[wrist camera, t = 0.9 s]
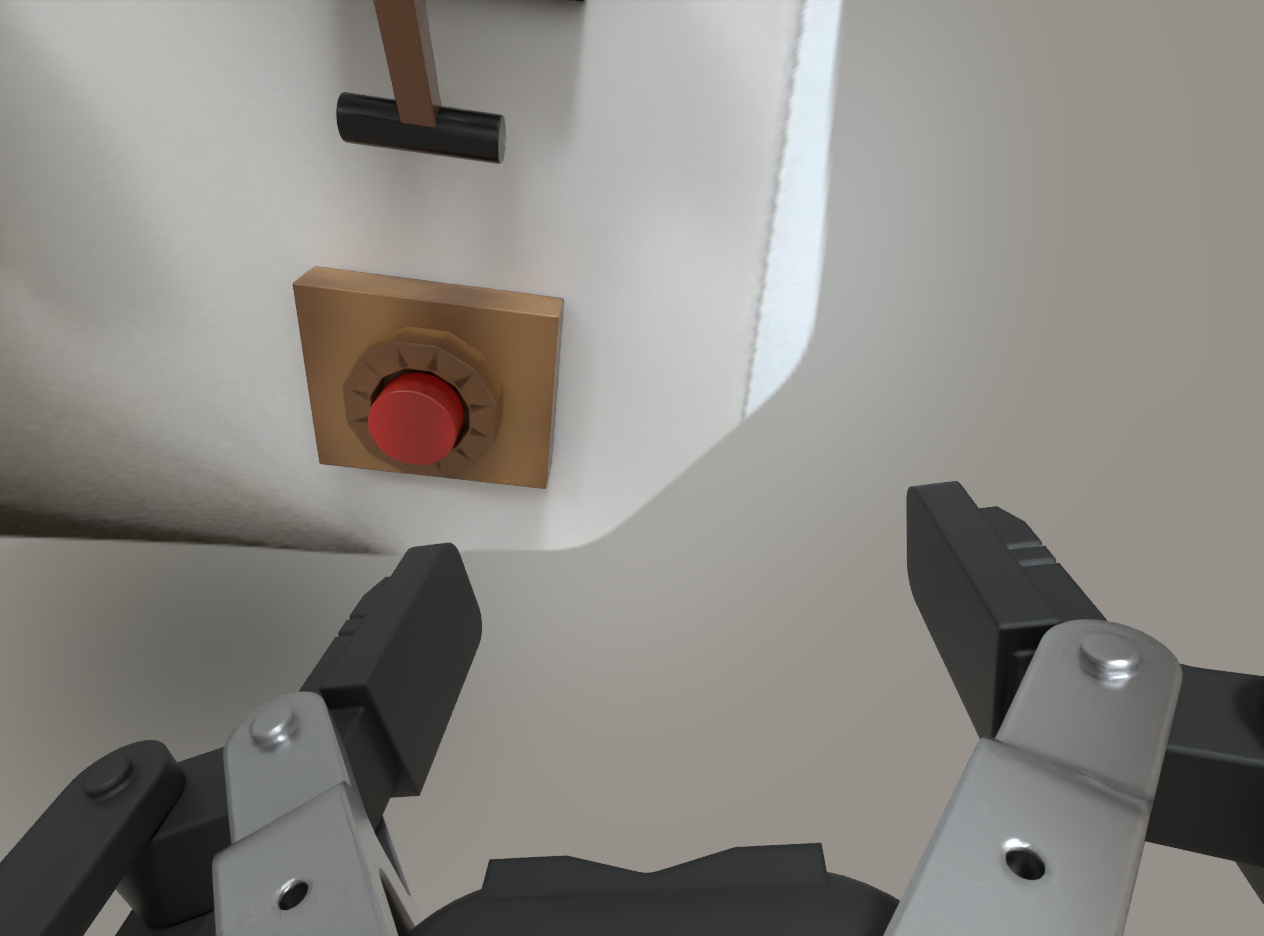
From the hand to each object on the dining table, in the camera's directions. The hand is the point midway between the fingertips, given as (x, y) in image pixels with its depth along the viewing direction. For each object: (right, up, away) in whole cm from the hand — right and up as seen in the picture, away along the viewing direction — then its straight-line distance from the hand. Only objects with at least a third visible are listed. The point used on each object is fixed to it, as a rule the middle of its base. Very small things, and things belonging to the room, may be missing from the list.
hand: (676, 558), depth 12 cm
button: (-10, +4, +17) cm, 21 cm away
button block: (-10, +6, +21) cm, 24 cm away
